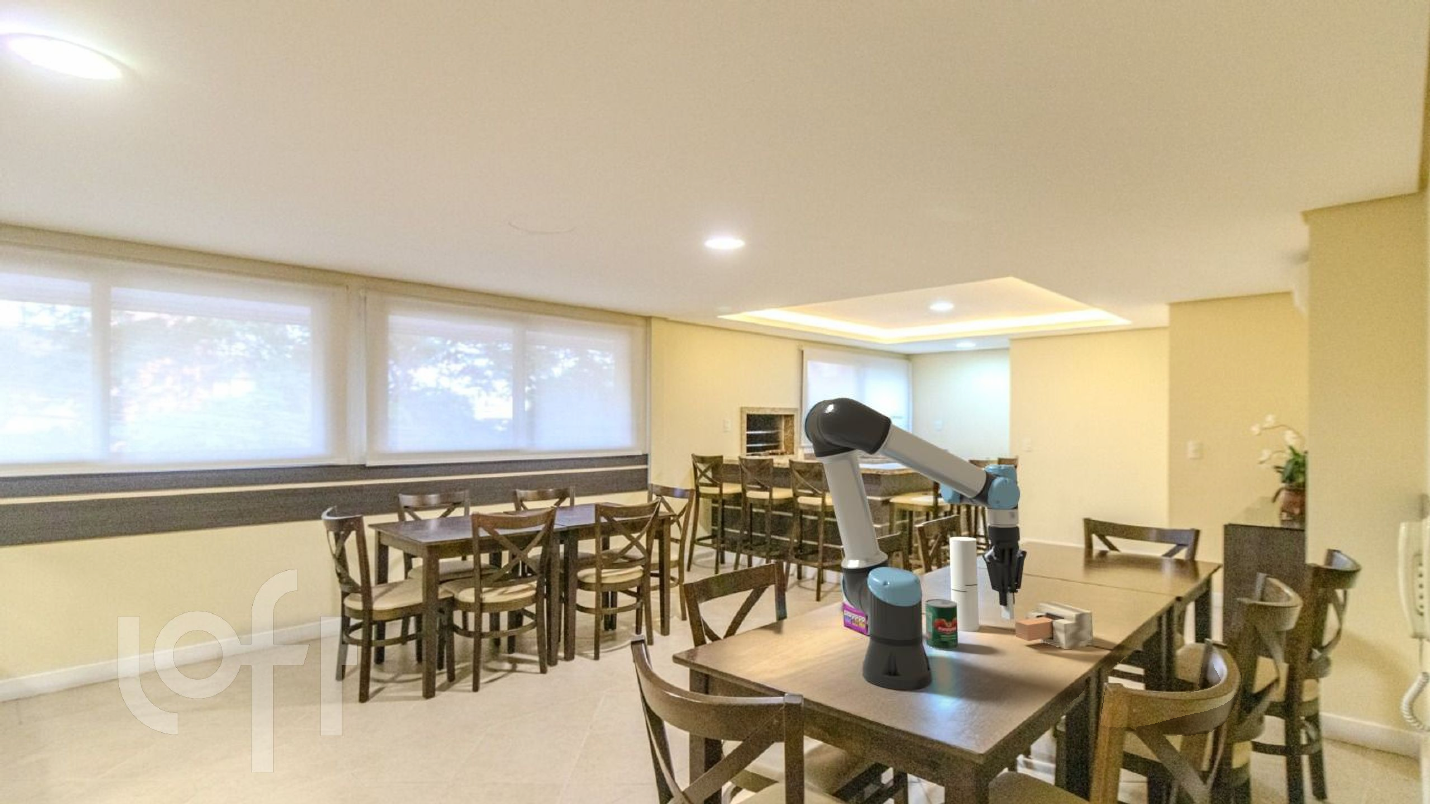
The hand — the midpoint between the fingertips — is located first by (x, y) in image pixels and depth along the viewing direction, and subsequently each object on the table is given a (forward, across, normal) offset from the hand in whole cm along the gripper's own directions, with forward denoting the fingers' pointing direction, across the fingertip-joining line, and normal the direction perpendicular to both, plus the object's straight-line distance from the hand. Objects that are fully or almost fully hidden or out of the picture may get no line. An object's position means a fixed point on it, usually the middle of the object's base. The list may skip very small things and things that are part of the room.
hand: (1007, 618), depth 166 cm
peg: (+6, +10, 0) cm, 11 cm away
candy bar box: (+8, -24, +29) cm, 39 cm away
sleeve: (+8, +18, 0) cm, 19 cm away
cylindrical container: (+8, +4, +19) cm, 21 cm away
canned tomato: (+8, -14, +9) cm, 18 cm away
